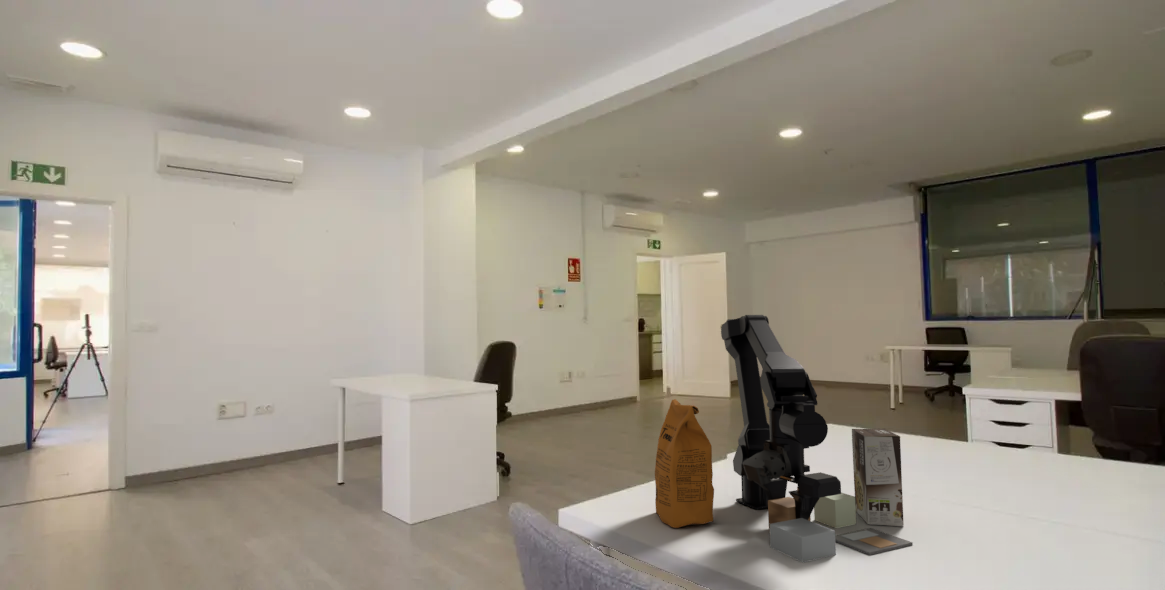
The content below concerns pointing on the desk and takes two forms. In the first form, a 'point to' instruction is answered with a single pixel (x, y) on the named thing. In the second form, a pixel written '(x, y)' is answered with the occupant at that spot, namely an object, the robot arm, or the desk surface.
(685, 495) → the coffee package
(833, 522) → the sage block
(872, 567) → the desk surface
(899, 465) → the coffee box
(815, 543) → the slate base block
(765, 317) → the robot arm
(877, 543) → the card
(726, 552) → the desk surface
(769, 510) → the walnut block
